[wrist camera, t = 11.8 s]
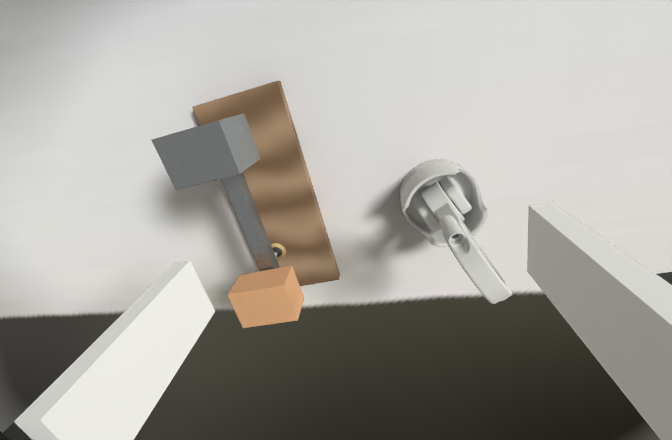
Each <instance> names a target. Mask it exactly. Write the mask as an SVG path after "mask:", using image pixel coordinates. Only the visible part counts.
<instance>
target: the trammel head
mask: <svg viewBox="0 0 672 440" xmlns="http://www.w3.org/2000/svg"><path fill="white" fill-rule="evenodd" d="M274 254H275V256H276V259H277V254H278V253H277V252H274ZM227 296H228V298H229V300H230V302H231V304H232V306H233V308H234V310H235V312H236V314H237V316H238V318H239V320H240V322H241V325H242V327H243V328H247V327H254V326H261V325H268V324H275V323H282V322H288V321H296V320H298V317H299V314H300V311H301V307H302V304H303V301H304V296H303V293H302V291H301V288H300V285H299V283H298V280H297V277H296V275H295V272H294V269H293V267H292V266H286V267H281V268H275V269H270V270H264V271H259V272H253V273H248V274H242V275H240V276H239V277H238V279H237V280H236V282H235V284H234V285H233V287H232V288H231V290H230V291H229V293H228V294H227Z"/></svg>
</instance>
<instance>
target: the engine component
mask: <svg viewBox="0 0 672 440" xmlns="http://www.w3.org/2000/svg"><path fill="white" fill-rule="evenodd" d="M400 202H401V207H402V211H403V214H404V216H405V218H406V220H407V221H408V223H409V224H410V225H411V226H412V227H413V228H415V229H416V230H417V231H419V232H420V233H421V234H423V235H424V236H425V237H427V238H428V239H429V241H430V243H431V244H432V245H433V246H436V247H450V249H451V251H452V252H453V254H454V256H455V257H456V259H457V260H458V262H459V263H460V265H461V266H462V268H463V269H464V271H465V272H466V273H467V275H468V276H469V278H470V279H471V280H472V282H473V283H474V284H475V286H476V287H477V288H478V289H479V291H480V292H481V293H482V294H483V295H484V297H485V298H486V299H487V300H488V301H489V302H490V303H492V304H495V303H497V302H499V301H502V300H505V299H507V298H508V297H509V296H511V295H512V292H511V290H510V289H509V287H508V285H507V284H506V282H505V281H504V279H503V278H502V277H501V275H500V274H499V272H498V271H497V269H496V268H495V267H494V265H493V264H492V262H491V261H490V260H489V258H488V257H487V256H486V254H485V253H484V251H483V250H482V249H481V247H480V246H479V245H478V243H477V242H476V240H475V239H474V237H473V236H474V235H475V234H476V233H477V232H478V231H479V230H480V229H481V227H482V226H483V224H484V222H485V221H486V218H487V209H486V207H485V206H484V204H483V201H482V198H481V194H480V191H479V188H478V185H477V183H476V181H475V179H474V178H473V177H472V176H471V175H470V174H469V173H468V172H467V171H466V170H465V169H464V168H463V167H462V166H460V165H459V164H457V163H455V162H453V161H450V160H446V159H434V160H429V161H426V162H423V163H421V164H419V165H418V166H416V167H415V168H413V169H412V170H411V171H410V172H409V173H408V174H407V176H406V177H405V179H404V181H403V182H402V185H401V189H400Z"/></svg>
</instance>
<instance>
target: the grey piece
mask: <svg viewBox="0 0 672 440" xmlns="http://www.w3.org/2000/svg"><path fill="white" fill-rule="evenodd" d="M152 142H153V144H154V146H155V148H156V150H157V152H158V154H159V156H160V158H161V160H162V163H163V165H164V167H165V169H166V171H167V173H168V175H169V177H170V179H171V181H172V183H173V185H174V187H175V189H176V190H177V189H181V188H185V187H189V186H193V185H197V184H201V183H205V182H209V181H213V180H217V179H222V182H223V184H224V187H225V189H226V191H227V194H228V196H229V198H230V201H231V203H232V205H233V208H234V210H235V213H236V215H237V217H238V220H239V222H240V224H241V227H242V229H243V232H244V234H245V236H246V239H247V241H248V243H249V246H250V248H251V250H252V253H253V255H254V258H255V260H256V262H257V265H258V267H259V269H260V271H264V270H270V269H275V268H280V267H279V264H278V261H277V259H276V256H275V254H274V251H273V249H272V246H271V244H270V241H269V238H268V236H267V233H266V231H265V228H264V226H263V223H262V221H261V218H260V215H259V213H258V210H257V208H256V205H255V203H254V200H253V198H252V195H251V192H250V190H249V187H248V185H247V182H246V180H245V177H244V175H243V171H244V170H246V169H247V168H249V167H250V166H251V165H253V164H254V163H255V162H257V161H258V160H259V159H261V158H260V155H259V153H258V150H257V147H256V144H255V142H254V139H253V136H252V133H251V131H250V128H249V125H248V122H247V120H246V117H245V114H244V113H243V114H240V115H236V116H232V117H229V118H225V119H222V120H218V121H215V122H211V123H208V124H204V125H201V126H197V127H194V128H191V129H187V130H184V131H180V132H177V133H173V134H170V135H167V136H163V137H160V138H156V139H153V140H152Z"/></svg>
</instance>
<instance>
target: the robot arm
mask: <svg viewBox="0 0 672 440" xmlns="http://www.w3.org/2000/svg"><path fill="white" fill-rule="evenodd" d="M527 272H528V273H529V274H530V275H531V277H532V278H533V279H534V280H535V282H536V283H537V284H538V286H539V287H540V288H541V289H542V291H543V292H544V293H545V294H546V296H547V297H548V298H549V299H550V301H551V302H552V303H553V304H554V306H555V307H556V308H557V309H558V311H559V312H560V313H561V314H562V316H563V317H564V318H565V320H566V321H567V322H568V323H569V324H570V326H571V327H572V328H573V330H574V331H575V332H576V333H577V335H578V336H579V337H580V338H581V340H582V341H583V342H584V343H585V345H586V346H587V347H588V349H589V350H590V351H591V352H592V354H593V355H594V356H595V357H596V359H597V360H598V361H599V362H600V364H601V365H602V366H603V368H604V369H605V370H606V371H607V373H608V374H609V375H610V376H611V377H612V379H613V380H614V381H615V383H616V384H617V385H618V386H619V388H620V389H621V390H622V391H623V393H624V394H625V395H626V396H627V398H628V399H629V400H630V401H631V403H632V404H633V405H634V407H635V408H636V409H637V410H638V412H639V413H640V414H641V415H642V417H643V418H644V419H645V420H646V422H647V423H648V424H649V426H650V427H651V428H652V429H653V431H655V433H656V434H657V436H658V437H659V438H660V439H661V440H672V272H668V273H660V274H655V273H654V272H652V271H651V270H650V269H648V268H647V267H645V266H644V265H643V264H641V263H640V262H638V261H637V260H636V259H634V258H633V257H631V256H630V255H628V254H627V253H626V252H624V251H623V250H621V249H620V248H619V247H617V246H616V245H614V244H613V243H611V242H610V241H609V240H607V239H606V238H604V237H603V236H602V235H600V234H599V233H597V232H596V231H594V230H593V229H592V228H590V227H589V226H587V225H586V224H585V223H583V222H582V221H580V220H579V219H577V218H576V217H575V216H573V215H572V214H570V213H569V212H568V211H566V210H565V209H563V208H562V207H560V206H559V205H558V204H556V203H555V202H553V201H552V202H546V203H540V204H534V205H529V216H528V261H527ZM214 312H215V310H214V308H213V306H212V304H211V302H210V300H209V298H208V296H207V294H206V292H205V290H204V288H203V286H202V284H201V282H200V280H199V278H198V276H197V274H196V272H195V270H194V268H193V266H192V264H191V262H190V261H184V262H178V263H174V264H173V265H172V266H171V267H170V268H169V269H168V270H167V271H166V272H165V273H164V274H163V275H162V276H160V277H159V278H158V279H157V280H156V281H155V282H154V283H153V284H152V285H151V286H150V287H149V288H148V289H147V290H146V291H145V292H144V293H143V294H142V295H141V296H140V297H139V298H138V299H137V300H136V301H135V302H134V303H133V304H132V305H131V306H130V307H129V308H128V309H127V310H126V311H125V312H124V313H123V314H122V315H121V316H120V317H119V318H118V319H117V320H116V321H115V322H114V323H113V324H112V325H111V326H110V327H109V328H108V329H107V330H106V331H105V332H104V333H103V334H102V335H101V336H100V337H99V338H98V339H97V340H96V341H95V342H94V343H93V344H92V345H91V346H90V347H89V348H88V349H87V350H86V351H85V352H84V353H83V354H82V355H81V356H80V357H79V358H78V359H77V360H76V361H75V362H74V363H73V364H72V365H71V366H70V367H69V368H68V369H67V370H66V371H65V372H64V373H63V374H62V375H61V376H60V377H59V378H58V379H57V380H56V381H55V382H54V383H53V384H52V385H51V386H50V387H49V388H48V389H46V390H45V391H44V392H43V393H42V395H40V396H39V397H38V398H37V399H36V400H35V401H34V403H32V404H31V405H30V406H29V407H28V408H27V409H26V410H25V412H23V413H22V414H21V415H20V416H19V417H18V418H17V419H16V420H15V421H14V423H13V424H12V425H11V426H10V427H8V429H6V430H5V431H4V432H3V433H2V432H1V431H0V440H133V439H134V438H135V436H136V435H137V433H138V432H139V430H140V428H141V427H142V426H143V424H144V422H145V421H146V419H147V418H148V416H149V415H150V413H151V411H152V410H153V408H154V407H155V405H156V404H157V402H158V400H159V399H160V397H161V396H162V394H163V393H164V391H165V389H166V388H167V386H168V385H169V383H170V382H171V380H172V378H173V377H174V375H175V374H176V372H177V371H178V369H179V367H180V366H181V364H182V363H183V361H184V360H185V358H186V356H187V355H188V353H189V351H190V350H191V349H192V347H193V345H194V344H195V342H196V341H197V339H198V337H199V336H200V334H201V333H202V331H203V330H204V328H205V327H206V325H207V323H208V322H209V320H210V318H211V317H212V316H213V314H214Z"/></svg>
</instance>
